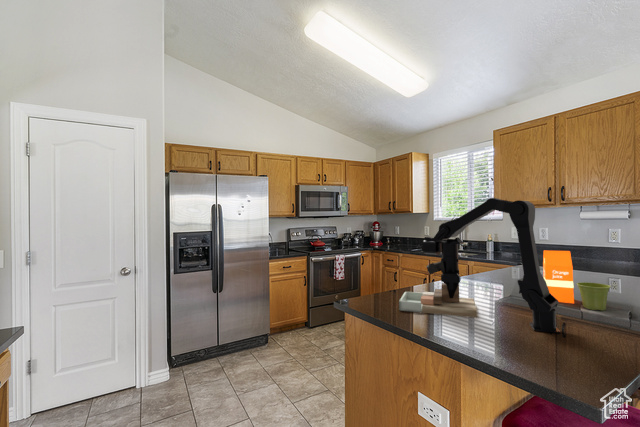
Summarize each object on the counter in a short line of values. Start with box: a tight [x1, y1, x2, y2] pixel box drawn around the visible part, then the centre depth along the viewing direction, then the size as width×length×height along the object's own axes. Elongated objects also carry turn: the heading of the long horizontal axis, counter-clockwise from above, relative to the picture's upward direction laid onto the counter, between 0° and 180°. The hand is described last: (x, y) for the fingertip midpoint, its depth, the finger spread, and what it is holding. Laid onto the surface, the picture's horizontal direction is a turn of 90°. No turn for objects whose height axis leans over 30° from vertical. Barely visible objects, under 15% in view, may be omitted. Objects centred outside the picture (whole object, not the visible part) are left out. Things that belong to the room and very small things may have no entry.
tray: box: [398, 291, 423, 313], centre depth 121 cm, size 16×8×4 cm, turn 157°
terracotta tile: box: [421, 296, 434, 305], centre depth 115 cm, size 4×4×2 cm
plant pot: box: [576, 282, 612, 312], centre depth 112 cm, size 9×9×9 cm
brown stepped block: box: [433, 282, 460, 304], centre depth 116 cm, size 13×9×6 cm
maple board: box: [421, 297, 478, 318], centre depth 116 cm, size 16×18×2 cm
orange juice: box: [542, 250, 575, 304], centre depth 124 cm, size 8×9×20 cm
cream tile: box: [422, 291, 435, 297], centre depth 122 cm, size 4×4×2 cm
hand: (451, 296), depth 115 cm, fingers closed on brown stepped block, 4 cm apart
